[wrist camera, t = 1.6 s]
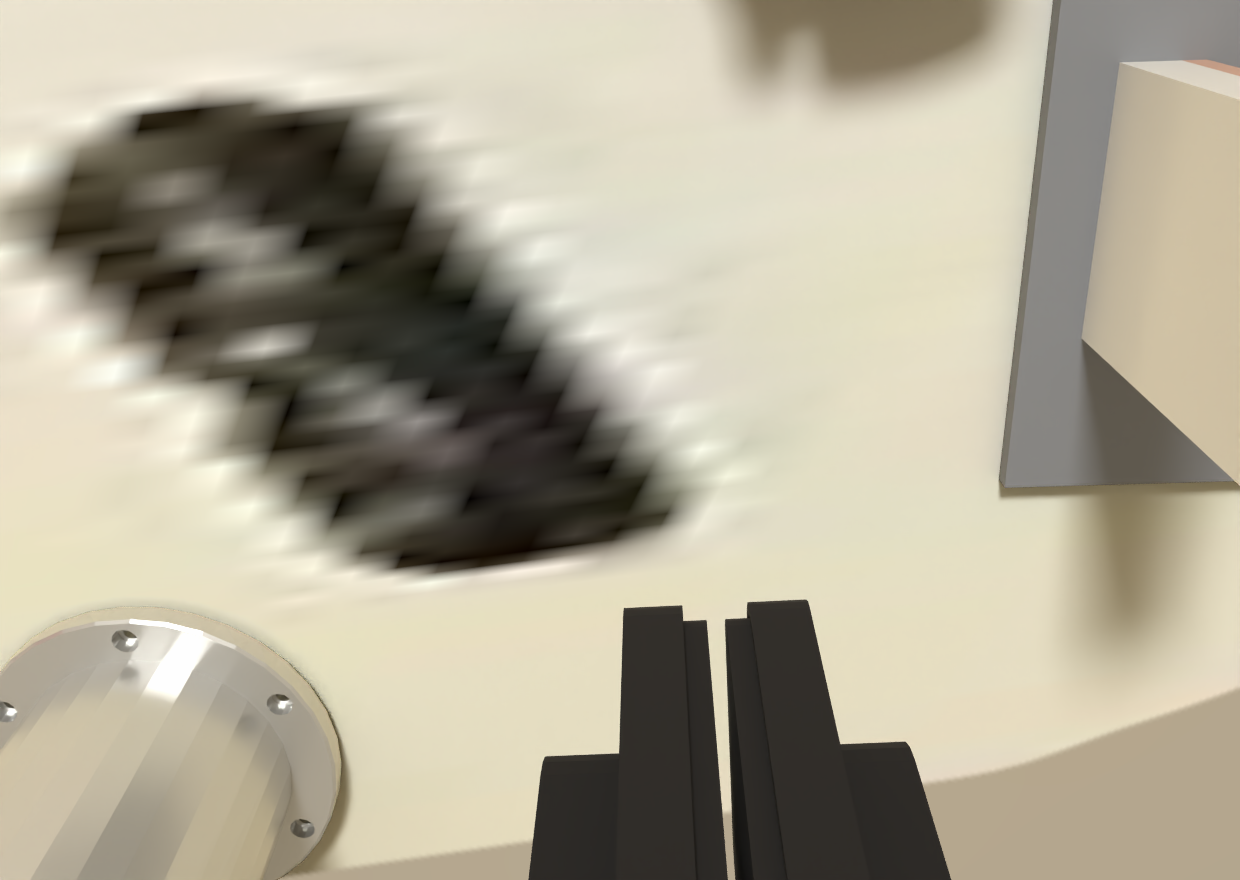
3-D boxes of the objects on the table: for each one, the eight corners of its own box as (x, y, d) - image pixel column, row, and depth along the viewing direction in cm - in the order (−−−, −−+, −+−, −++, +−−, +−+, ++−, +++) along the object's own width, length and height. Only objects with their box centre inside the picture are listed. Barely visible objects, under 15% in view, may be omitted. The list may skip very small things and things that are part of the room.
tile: (1161, 335, 36) (1348, 484, 26) (1081, 338, 36) (1241, 486, 26) (1207, 59, 32) (1439, 120, 23) (1119, 62, 32) (1317, 123, 23)
